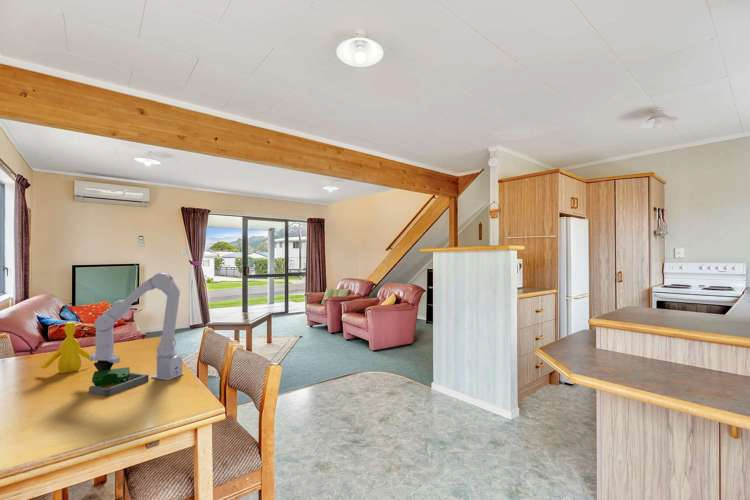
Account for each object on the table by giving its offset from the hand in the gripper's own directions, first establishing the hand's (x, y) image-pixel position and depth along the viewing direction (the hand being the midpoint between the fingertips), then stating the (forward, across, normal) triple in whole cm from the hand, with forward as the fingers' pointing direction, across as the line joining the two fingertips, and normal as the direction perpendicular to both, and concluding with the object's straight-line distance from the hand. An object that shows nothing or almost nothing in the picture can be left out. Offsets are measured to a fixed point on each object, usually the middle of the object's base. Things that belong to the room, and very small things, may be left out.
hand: (104, 379), depth 139 cm
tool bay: (+2, +9, 0) cm, 9 cm away
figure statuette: (+2, -30, +5) cm, 30 cm away
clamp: (+2, +5, -1) cm, 6 cm away
